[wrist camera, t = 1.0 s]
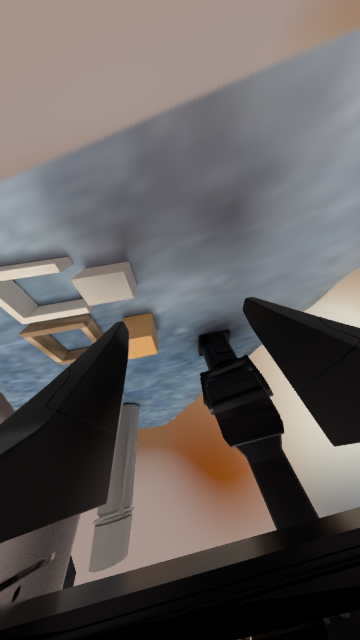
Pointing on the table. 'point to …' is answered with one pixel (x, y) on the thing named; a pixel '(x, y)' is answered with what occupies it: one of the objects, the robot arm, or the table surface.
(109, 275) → the block
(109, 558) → the water bottle
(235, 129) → the table surface
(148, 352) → the orange block
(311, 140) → the table surface
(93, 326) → the holder
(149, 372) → the table surface
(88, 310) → the clip
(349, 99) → the table surface
